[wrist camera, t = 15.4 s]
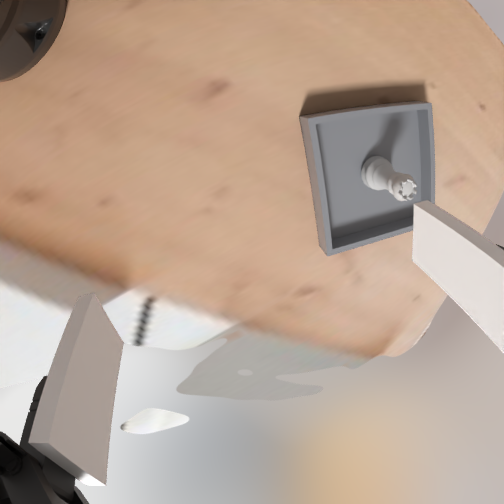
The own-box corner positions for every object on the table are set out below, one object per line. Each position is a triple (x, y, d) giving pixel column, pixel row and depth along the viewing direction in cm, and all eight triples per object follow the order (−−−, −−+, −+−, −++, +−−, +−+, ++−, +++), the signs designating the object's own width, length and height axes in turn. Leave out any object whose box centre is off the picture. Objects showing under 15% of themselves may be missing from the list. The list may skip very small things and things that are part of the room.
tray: (298, 116, 35) (307, 118, 32) (417, 100, 36) (431, 102, 33) (319, 245, 44) (327, 256, 41) (422, 215, 44) (433, 223, 42)
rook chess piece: (393, 163, 39) (429, 180, 32) (379, 192, 41) (412, 214, 34) (368, 149, 37) (404, 164, 30) (354, 179, 39) (386, 200, 32)
